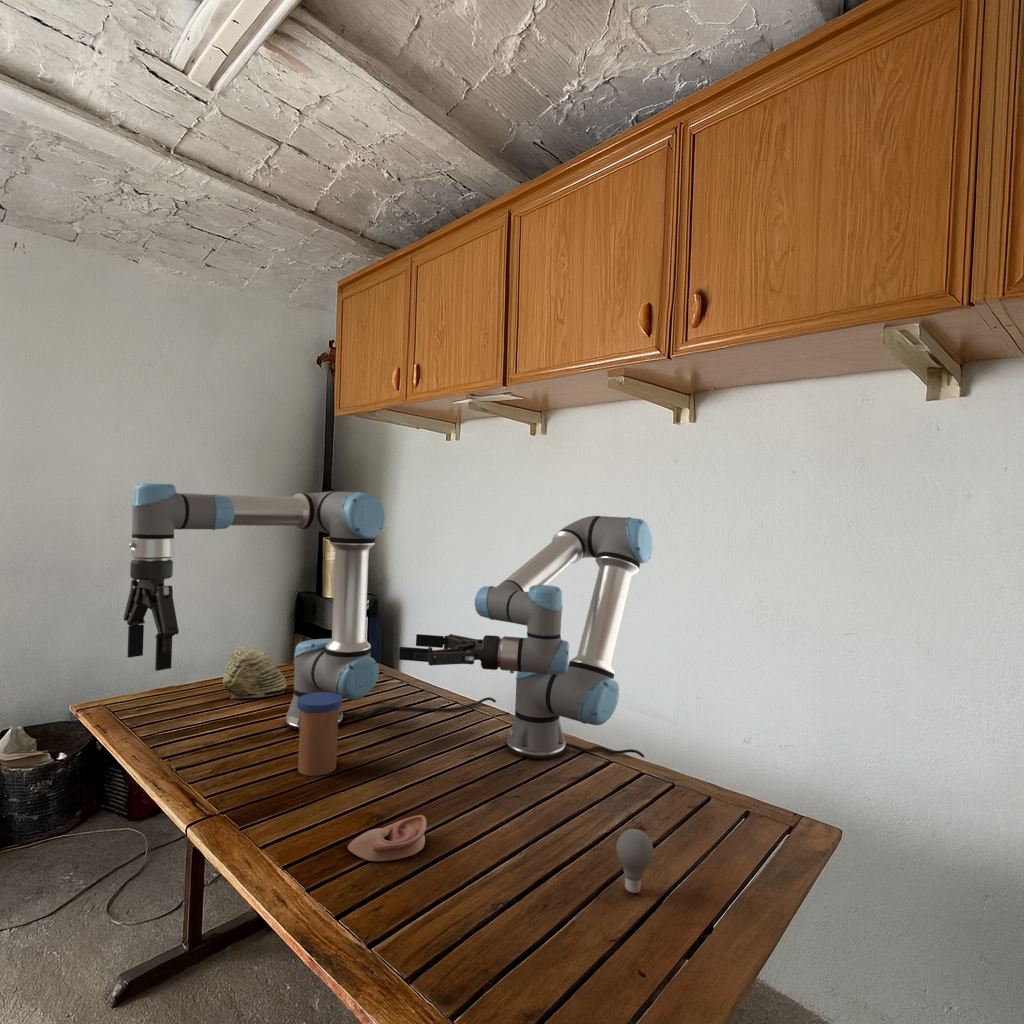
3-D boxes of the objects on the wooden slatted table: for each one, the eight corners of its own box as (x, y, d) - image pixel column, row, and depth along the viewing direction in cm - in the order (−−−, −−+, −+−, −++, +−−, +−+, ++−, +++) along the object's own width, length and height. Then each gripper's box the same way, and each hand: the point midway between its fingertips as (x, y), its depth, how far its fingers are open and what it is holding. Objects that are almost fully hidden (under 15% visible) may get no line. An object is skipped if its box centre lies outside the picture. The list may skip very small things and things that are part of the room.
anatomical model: (340, 834, 112) (368, 804, 123) (339, 856, 112) (367, 824, 123) (411, 845, 109) (433, 813, 120) (410, 868, 109) (432, 834, 120)
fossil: (218, 695, 195) (220, 647, 195) (278, 685, 208) (279, 640, 207) (228, 703, 189) (230, 653, 188) (289, 692, 201) (290, 645, 201)
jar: (316, 779, 142) (319, 709, 142) (289, 769, 146) (292, 701, 146) (344, 765, 149) (347, 699, 149) (317, 757, 154) (320, 692, 153)
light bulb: (610, 879, 108) (613, 822, 108) (644, 879, 109) (647, 822, 109) (619, 902, 102) (622, 840, 102) (655, 901, 103) (658, 840, 103)
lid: (319, 715, 141) (319, 708, 141) (287, 706, 146) (288, 699, 146) (350, 703, 149) (351, 697, 149) (320, 695, 154) (320, 689, 154)
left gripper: (108, 554, 134) (104, 654, 134) (159, 565, 118) (155, 678, 119) (146, 552, 140) (143, 648, 140) (199, 563, 124) (195, 671, 124)
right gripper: (490, 685, 130) (391, 677, 133) (506, 656, 155) (421, 650, 158) (492, 649, 130) (392, 641, 133) (507, 626, 155) (423, 620, 157)
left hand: (148, 662), depth 129 cm, fingers open, 13 cm apart
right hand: (408, 646), depth 145 cm, fingers open, 13 cm apart
